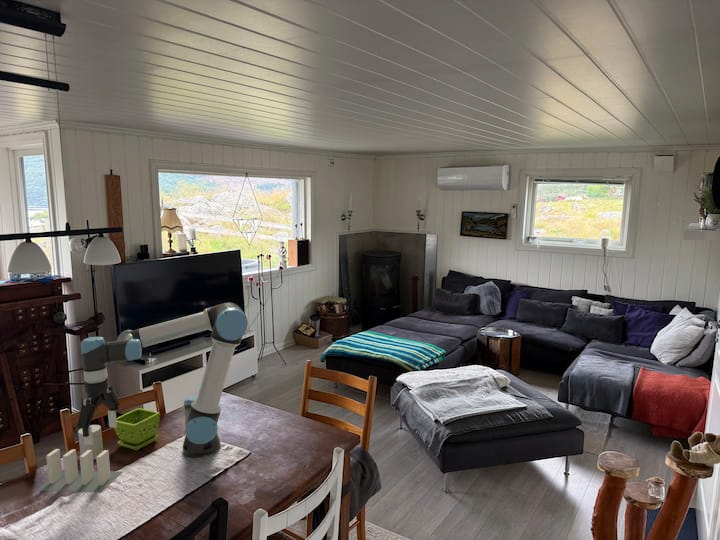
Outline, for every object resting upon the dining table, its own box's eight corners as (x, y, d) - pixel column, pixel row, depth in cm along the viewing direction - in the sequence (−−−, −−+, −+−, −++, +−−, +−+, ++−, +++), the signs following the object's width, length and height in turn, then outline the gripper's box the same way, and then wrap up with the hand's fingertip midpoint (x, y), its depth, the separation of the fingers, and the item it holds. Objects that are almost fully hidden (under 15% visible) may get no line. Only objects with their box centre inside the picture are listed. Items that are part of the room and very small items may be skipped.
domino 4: (110, 477, 186) (108, 450, 184) (102, 485, 181) (100, 457, 179) (106, 477, 186) (104, 450, 184) (98, 485, 181) (96, 457, 179)
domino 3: (94, 477, 186) (92, 449, 185) (86, 484, 181) (83, 456, 180) (90, 477, 186) (88, 449, 185) (82, 484, 181) (79, 456, 180)
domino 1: (62, 476, 187) (59, 449, 186) (53, 483, 182) (50, 455, 181) (58, 476, 187) (55, 448, 186) (49, 483, 182) (46, 455, 181)
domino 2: (78, 476, 187) (75, 449, 185) (69, 484, 182) (66, 456, 180) (74, 476, 187) (71, 449, 185) (65, 484, 182) (62, 456, 180)
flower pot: (140, 433, 222) (138, 407, 221) (163, 439, 216) (161, 412, 215) (113, 447, 210) (110, 419, 208) (136, 454, 204) (133, 425, 202)
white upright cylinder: (93, 462, 198) (90, 434, 196) (76, 461, 199) (73, 433, 198) (107, 452, 206) (105, 425, 204) (90, 451, 207) (88, 424, 206)
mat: (123, 472, 190) (123, 471, 190) (101, 493, 176) (101, 492, 176) (62, 470, 192) (62, 469, 192) (36, 491, 178) (35, 490, 178)
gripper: (108, 368, 191) (113, 420, 194) (61, 392, 166) (67, 451, 169) (126, 368, 190) (131, 420, 192) (81, 393, 165) (87, 452, 168)
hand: (101, 435), depth 181 cm, fingers open, 13 cm apart
